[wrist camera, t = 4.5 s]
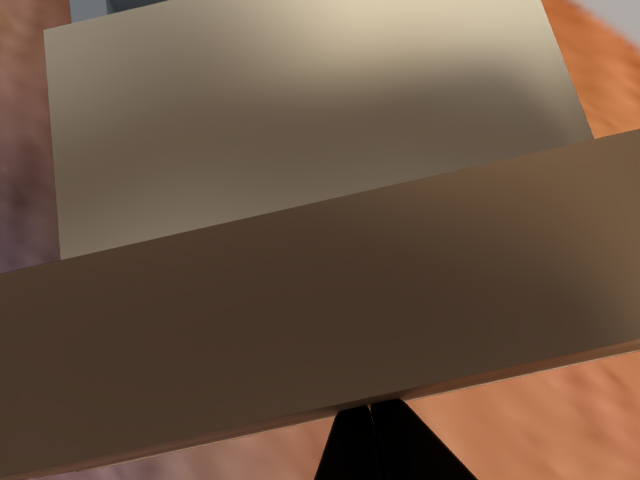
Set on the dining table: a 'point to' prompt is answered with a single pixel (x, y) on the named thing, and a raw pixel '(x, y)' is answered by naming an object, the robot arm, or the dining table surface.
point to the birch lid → (307, 223)
